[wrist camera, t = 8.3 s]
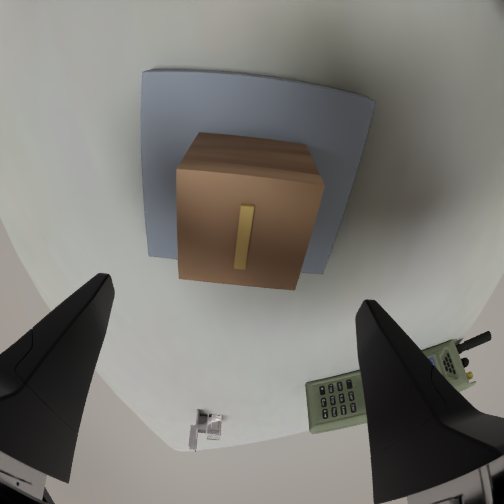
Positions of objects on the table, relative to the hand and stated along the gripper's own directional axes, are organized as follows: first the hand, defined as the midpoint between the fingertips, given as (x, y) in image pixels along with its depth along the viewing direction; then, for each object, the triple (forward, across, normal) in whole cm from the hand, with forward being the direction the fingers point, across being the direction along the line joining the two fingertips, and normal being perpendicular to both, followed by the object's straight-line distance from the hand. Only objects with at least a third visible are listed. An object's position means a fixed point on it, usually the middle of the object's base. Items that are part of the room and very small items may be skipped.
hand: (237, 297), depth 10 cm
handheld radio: (+10, -22, +20) cm, 31 cm away
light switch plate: (+10, 0, 0) cm, 10 cm away
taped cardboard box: (+8, 0, 0) cm, 8 cm away
